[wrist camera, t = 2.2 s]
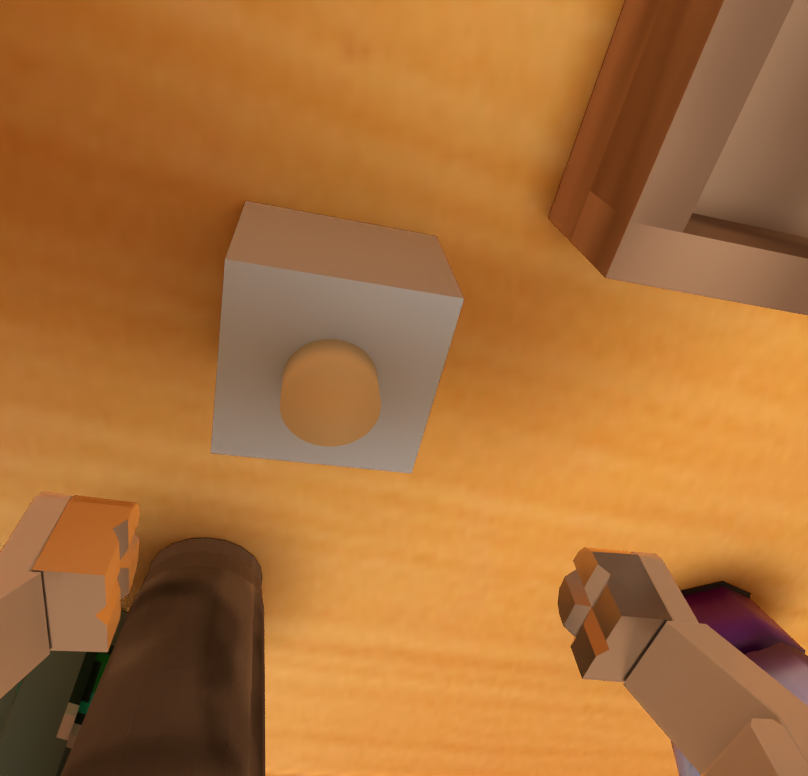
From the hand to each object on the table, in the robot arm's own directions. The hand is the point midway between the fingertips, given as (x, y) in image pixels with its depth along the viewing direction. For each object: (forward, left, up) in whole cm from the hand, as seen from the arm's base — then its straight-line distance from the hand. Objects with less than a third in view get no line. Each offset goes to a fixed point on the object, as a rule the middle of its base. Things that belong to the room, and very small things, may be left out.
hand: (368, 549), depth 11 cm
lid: (-1, 0, -10) cm, 10 cm away
